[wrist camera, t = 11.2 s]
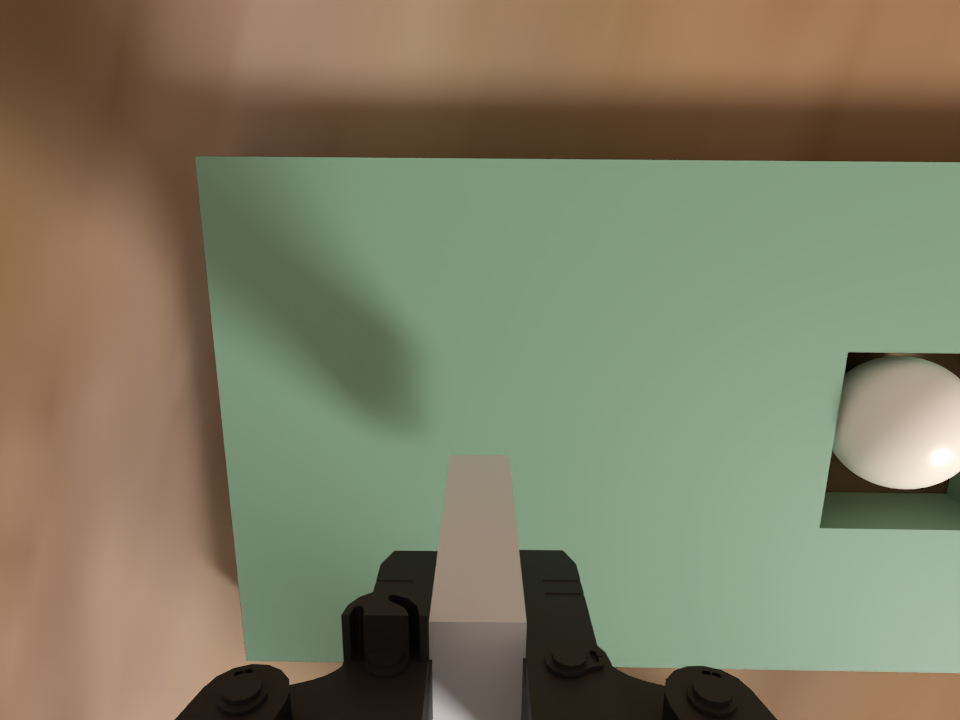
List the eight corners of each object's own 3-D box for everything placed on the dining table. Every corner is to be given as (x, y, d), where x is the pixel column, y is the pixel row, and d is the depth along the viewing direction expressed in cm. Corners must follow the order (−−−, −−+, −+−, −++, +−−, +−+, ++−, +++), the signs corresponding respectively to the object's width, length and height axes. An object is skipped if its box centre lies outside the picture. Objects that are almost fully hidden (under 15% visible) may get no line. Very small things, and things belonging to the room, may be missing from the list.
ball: (784, 464, 21) (902, 523, 17) (804, 346, 20) (935, 382, 16) (871, 450, 22) (996, 501, 19) (893, 338, 21) (1031, 371, 18)
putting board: (271, 612, 24) (246, 660, 21) (231, 160, 19) (194, 156, 17) (1034, 624, 23) (1097, 675, 21) (1157, 167, 19) (1254, 164, 17)
